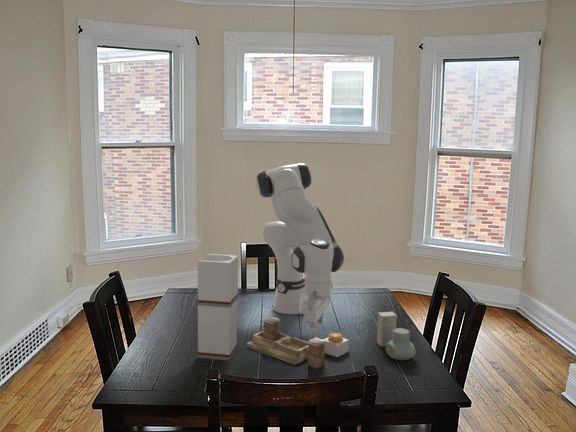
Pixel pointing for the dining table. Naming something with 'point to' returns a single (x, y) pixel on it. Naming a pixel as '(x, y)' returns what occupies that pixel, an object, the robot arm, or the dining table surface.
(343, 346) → the button housing
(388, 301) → the dining table surface
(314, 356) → the block
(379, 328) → the skincare box
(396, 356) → the air freshener
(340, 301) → the dining table surface
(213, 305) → the tall open-top box
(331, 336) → the button
